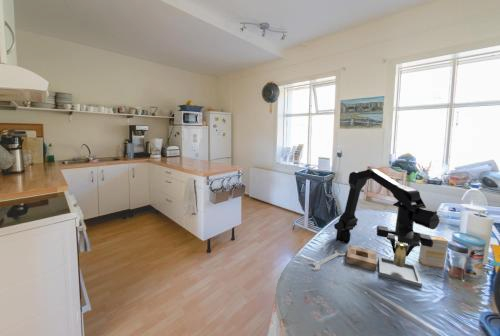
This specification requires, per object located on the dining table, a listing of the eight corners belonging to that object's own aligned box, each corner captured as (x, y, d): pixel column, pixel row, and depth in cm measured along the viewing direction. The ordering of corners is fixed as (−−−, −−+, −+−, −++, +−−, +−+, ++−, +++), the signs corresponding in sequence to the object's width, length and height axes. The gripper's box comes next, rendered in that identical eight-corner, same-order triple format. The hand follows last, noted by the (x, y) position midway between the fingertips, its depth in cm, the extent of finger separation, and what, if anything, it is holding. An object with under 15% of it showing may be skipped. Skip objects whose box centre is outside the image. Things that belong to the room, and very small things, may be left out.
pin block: (346, 262, 100) (346, 256, 100) (348, 250, 111) (349, 245, 110) (376, 270, 95) (377, 264, 94) (375, 257, 105) (376, 251, 105)
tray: (379, 276, 91) (379, 272, 90) (378, 260, 103) (378, 256, 102) (421, 288, 84) (422, 283, 84) (415, 269, 96) (415, 265, 96)
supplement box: (439, 263, 102) (443, 236, 100) (444, 269, 97) (449, 241, 95) (417, 259, 104) (421, 233, 102) (421, 265, 100) (426, 237, 98)
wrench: (304, 267, 97) (314, 273, 93) (305, 264, 97) (314, 270, 92) (338, 250, 111) (347, 255, 107) (338, 247, 111) (348, 252, 107)
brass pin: (393, 265, 92) (396, 245, 91) (392, 260, 96) (395, 241, 94) (405, 268, 90) (408, 248, 89) (403, 263, 94) (406, 243, 92)
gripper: (379, 221, 87) (374, 257, 90) (439, 232, 78) (433, 272, 81) (378, 212, 97) (374, 245, 99) (432, 221, 88) (426, 257, 90)
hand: (400, 254), depth 92 cm, fingers closed on brass pin, 4 cm apart
